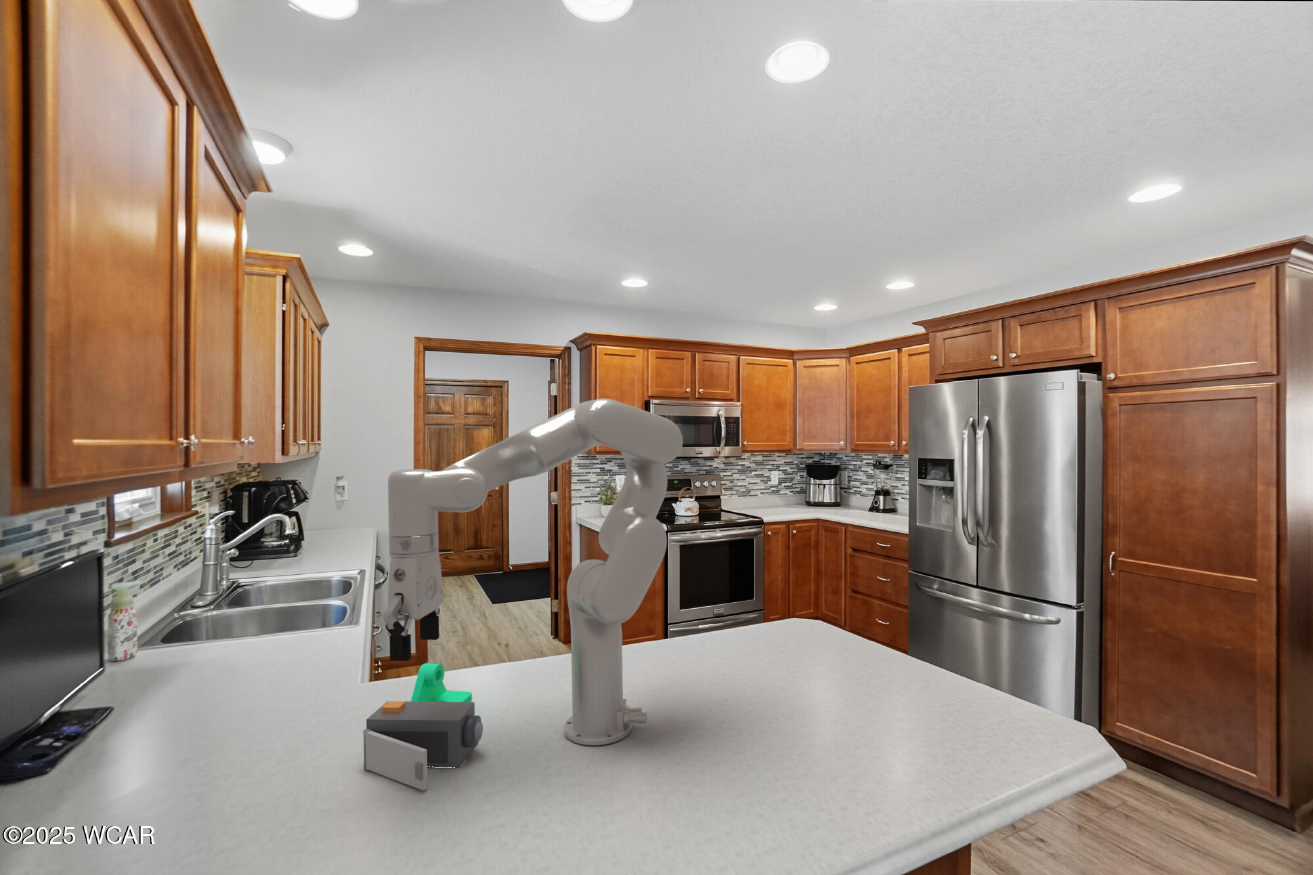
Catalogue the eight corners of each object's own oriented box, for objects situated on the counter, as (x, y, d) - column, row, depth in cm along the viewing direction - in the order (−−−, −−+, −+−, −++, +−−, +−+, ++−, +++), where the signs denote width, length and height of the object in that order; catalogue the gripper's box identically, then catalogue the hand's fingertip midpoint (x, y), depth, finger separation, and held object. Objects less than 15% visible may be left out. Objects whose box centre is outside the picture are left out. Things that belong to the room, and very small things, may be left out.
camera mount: (444, 732, 113) (443, 677, 113) (406, 729, 114) (406, 675, 115) (473, 704, 125) (473, 655, 125) (440, 702, 126) (439, 653, 126)
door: (428, 788, 94) (427, 747, 94) (420, 793, 93) (419, 752, 93) (368, 766, 101) (367, 728, 101) (360, 770, 100) (359, 731, 100)
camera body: (487, 747, 107) (486, 696, 107) (472, 769, 100) (471, 714, 100) (388, 745, 108) (387, 695, 108) (366, 767, 101) (365, 713, 101)
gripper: (409, 554, 89) (411, 669, 89) (458, 536, 107) (459, 632, 107) (361, 554, 90) (363, 669, 90) (417, 536, 107) (419, 632, 107)
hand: (415, 649), depth 98 cm, fingers open, 9 cm apart
